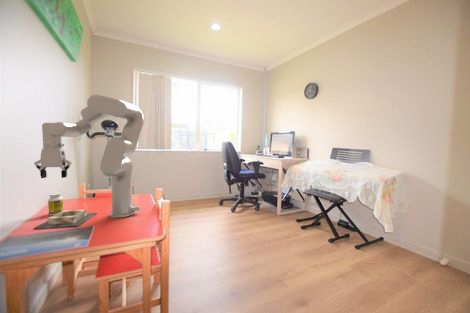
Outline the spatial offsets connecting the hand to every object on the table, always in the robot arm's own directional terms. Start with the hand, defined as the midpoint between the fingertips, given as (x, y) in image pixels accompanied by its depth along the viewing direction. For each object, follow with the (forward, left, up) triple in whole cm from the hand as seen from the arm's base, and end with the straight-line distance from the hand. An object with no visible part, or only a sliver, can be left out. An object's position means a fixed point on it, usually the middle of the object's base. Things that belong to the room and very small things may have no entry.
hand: (54, 177), depth 113 cm
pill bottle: (0, 0, -20) cm, 20 cm away
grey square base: (-13, +13, -20) cm, 27 cm away
